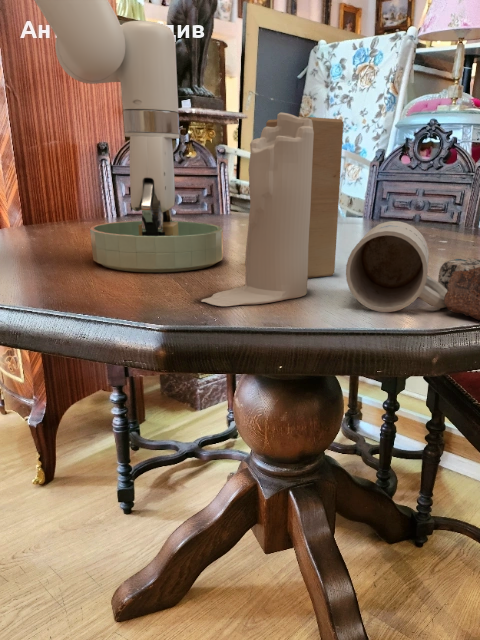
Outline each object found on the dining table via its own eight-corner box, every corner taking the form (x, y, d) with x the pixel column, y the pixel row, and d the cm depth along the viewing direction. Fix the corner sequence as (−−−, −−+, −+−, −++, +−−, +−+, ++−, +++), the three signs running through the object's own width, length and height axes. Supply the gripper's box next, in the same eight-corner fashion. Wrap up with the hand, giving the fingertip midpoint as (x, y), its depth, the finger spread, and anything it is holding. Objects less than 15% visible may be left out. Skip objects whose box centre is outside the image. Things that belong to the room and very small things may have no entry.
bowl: (76, 272, 76) (71, 234, 74) (112, 250, 94) (109, 219, 92) (217, 275, 77) (216, 238, 75) (226, 252, 95) (226, 222, 93)
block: (140, 259, 83) (138, 225, 81) (147, 254, 87) (145, 221, 86) (174, 260, 83) (172, 225, 81) (179, 255, 88) (177, 222, 86)
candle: (189, 298, 64) (182, 104, 56) (279, 283, 73) (283, 114, 65) (228, 311, 59) (225, 100, 52) (319, 293, 68) (328, 112, 60)
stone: (464, 273, 63) (452, 259, 61) (529, 270, 58) (518, 255, 56) (450, 326, 62) (437, 314, 60) (514, 328, 57) (503, 315, 55)
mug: (343, 258, 70) (329, 273, 61) (392, 205, 66) (386, 213, 57) (413, 326, 71) (409, 350, 62) (465, 277, 67) (470, 296, 58)
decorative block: (262, 265, 85) (264, 119, 77) (294, 262, 87) (299, 122, 80) (302, 279, 76) (308, 116, 68) (336, 275, 79) (345, 119, 71)
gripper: (138, 128, 86) (146, 246, 93) (108, 122, 70) (121, 265, 77) (187, 130, 86) (191, 247, 93) (168, 124, 70) (175, 266, 77)
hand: (159, 254), depth 85 cm, fingers open, 6 cm apart
